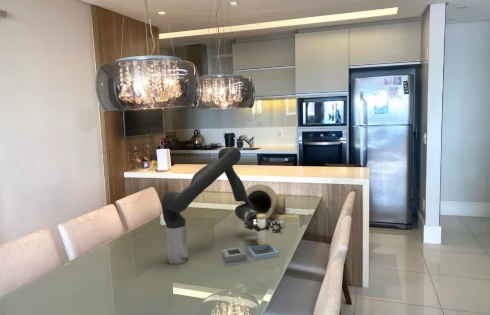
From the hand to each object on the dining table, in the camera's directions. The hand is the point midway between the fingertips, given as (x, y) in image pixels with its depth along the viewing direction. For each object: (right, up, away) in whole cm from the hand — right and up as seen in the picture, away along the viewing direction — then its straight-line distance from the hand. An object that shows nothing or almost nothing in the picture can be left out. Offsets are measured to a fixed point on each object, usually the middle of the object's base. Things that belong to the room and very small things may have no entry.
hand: (263, 229), depth 173 cm
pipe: (+4, -5, +72) cm, 72 cm away
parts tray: (0, -14, +4) cm, 15 cm away
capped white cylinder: (0, -8, +4) cm, 8 cm away
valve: (+11, -9, +42) cm, 44 cm away
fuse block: (-14, -15, +1) cm, 20 cm away
